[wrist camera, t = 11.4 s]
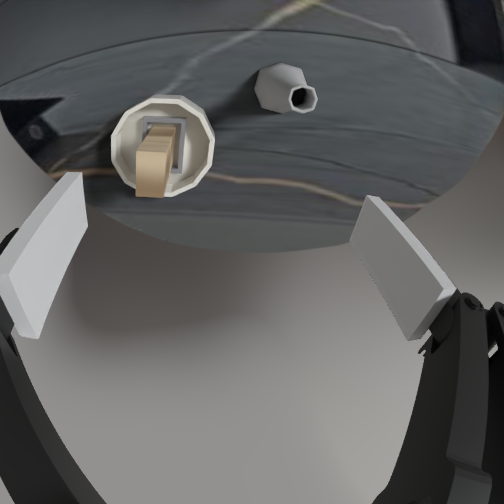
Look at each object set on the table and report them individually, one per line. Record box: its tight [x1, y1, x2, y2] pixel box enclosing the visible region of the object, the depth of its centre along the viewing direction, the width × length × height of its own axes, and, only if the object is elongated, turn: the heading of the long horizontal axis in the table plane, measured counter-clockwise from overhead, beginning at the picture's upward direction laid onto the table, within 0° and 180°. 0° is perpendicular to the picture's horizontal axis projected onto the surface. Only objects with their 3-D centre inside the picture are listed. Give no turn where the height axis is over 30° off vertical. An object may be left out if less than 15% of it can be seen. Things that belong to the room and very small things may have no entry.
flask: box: [254, 62, 318, 114], centre depth 32 cm, size 7×7×10 cm
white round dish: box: [111, 95, 215, 197], centre depth 37 cm, size 13×13×4 cm
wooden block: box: [136, 125, 176, 198], centre depth 33 cm, size 5×3×11 cm, turn 170°
